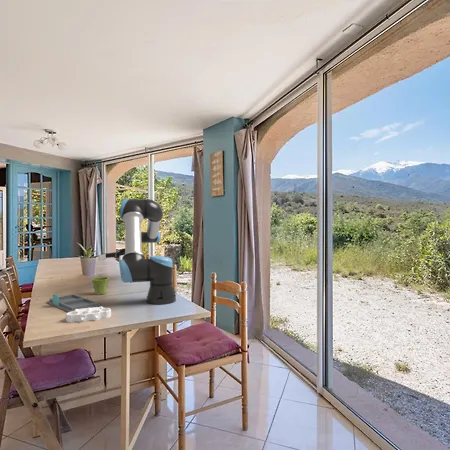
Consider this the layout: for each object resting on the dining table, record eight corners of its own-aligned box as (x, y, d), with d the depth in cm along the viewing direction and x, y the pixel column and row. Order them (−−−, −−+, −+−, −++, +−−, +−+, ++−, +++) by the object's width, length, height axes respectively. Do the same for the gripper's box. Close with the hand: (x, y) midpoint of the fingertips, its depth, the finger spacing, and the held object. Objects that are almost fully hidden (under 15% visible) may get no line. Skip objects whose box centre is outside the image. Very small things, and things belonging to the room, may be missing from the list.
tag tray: (100, 306, 160) (100, 294, 160) (69, 312, 149) (69, 300, 149) (76, 297, 178) (75, 286, 178) (46, 302, 167) (46, 291, 167)
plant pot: (103, 296, 181) (103, 280, 180) (88, 295, 183) (88, 279, 182) (112, 292, 190) (112, 277, 190) (97, 291, 192) (97, 276, 191)
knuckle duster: (109, 311, 153) (111, 320, 140) (67, 315, 146) (65, 325, 133) (109, 304, 153) (111, 312, 140) (67, 308, 146) (65, 317, 133)
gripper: (144, 259, 214) (128, 264, 193) (109, 258, 219) (90, 263, 198) (144, 248, 214) (128, 252, 193) (109, 247, 218) (90, 251, 198)
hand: (109, 257), depth 195 cm, fingers open, 13 cm apart
